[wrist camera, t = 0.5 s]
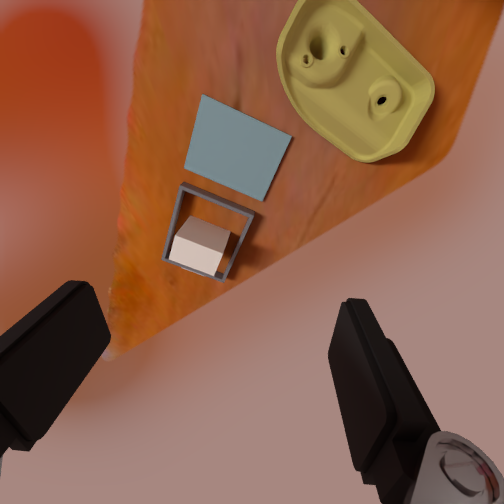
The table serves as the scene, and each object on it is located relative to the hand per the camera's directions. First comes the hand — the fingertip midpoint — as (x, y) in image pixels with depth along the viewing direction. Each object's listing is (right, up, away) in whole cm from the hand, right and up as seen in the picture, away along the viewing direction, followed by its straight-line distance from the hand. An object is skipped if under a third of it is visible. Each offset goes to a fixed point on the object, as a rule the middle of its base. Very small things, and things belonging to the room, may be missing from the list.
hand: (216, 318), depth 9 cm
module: (-7, +6, +37) cm, 38 cm away
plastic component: (+14, +25, +24) cm, 37 cm away
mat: (-1, +18, +29) cm, 34 cm away
